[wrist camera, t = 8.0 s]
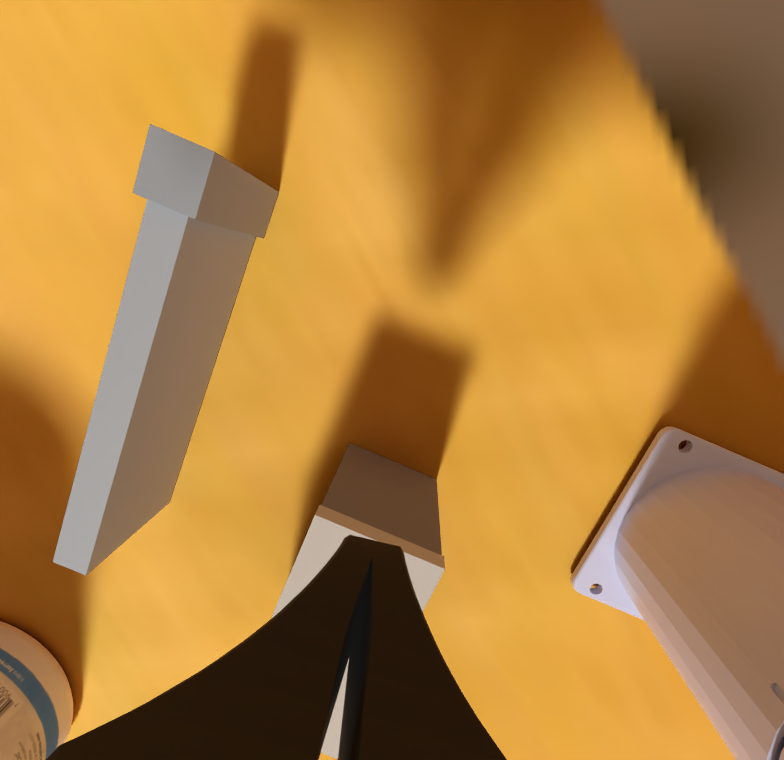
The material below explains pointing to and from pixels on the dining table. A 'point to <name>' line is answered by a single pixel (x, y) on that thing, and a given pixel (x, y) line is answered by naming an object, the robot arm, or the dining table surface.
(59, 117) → the dining table surface
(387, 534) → the block
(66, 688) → the supplement tub
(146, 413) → the wall
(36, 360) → the dining table surface
